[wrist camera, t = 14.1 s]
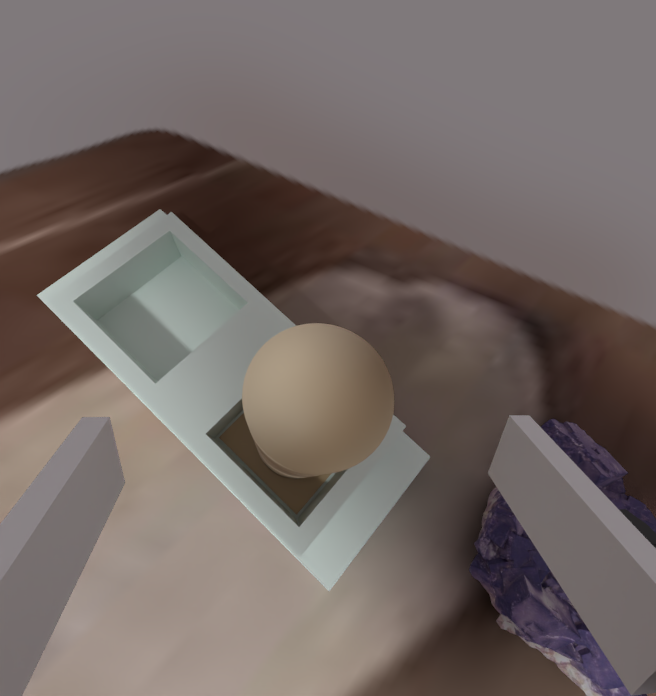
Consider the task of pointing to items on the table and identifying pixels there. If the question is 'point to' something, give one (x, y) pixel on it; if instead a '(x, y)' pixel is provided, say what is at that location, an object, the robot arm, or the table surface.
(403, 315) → the table surface
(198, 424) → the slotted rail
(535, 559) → the mineral specimen
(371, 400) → the birch peg
